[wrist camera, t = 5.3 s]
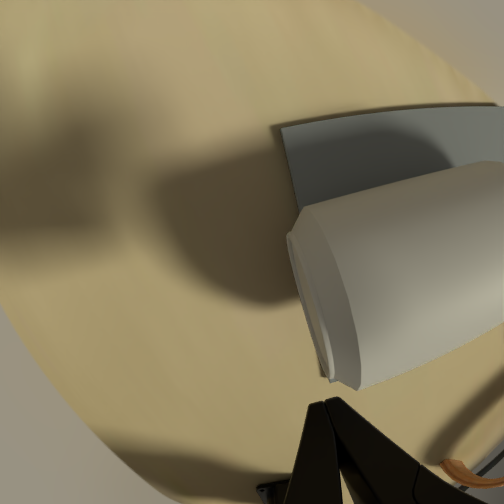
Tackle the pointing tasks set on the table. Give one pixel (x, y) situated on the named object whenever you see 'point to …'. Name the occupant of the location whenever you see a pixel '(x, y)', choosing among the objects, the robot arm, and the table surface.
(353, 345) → the can
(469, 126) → the mat
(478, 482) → the arch
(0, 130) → the table surface
